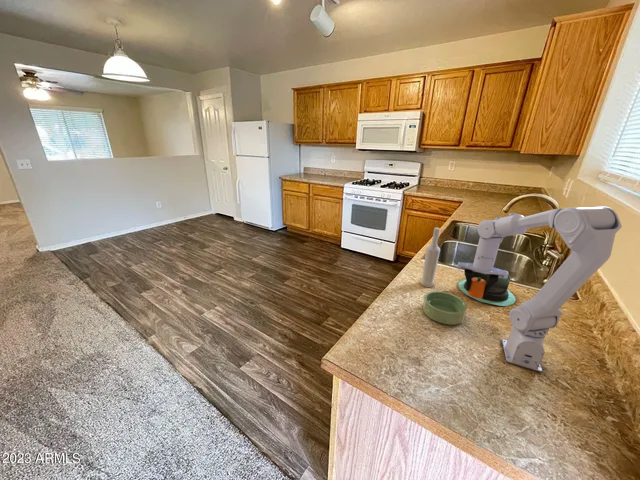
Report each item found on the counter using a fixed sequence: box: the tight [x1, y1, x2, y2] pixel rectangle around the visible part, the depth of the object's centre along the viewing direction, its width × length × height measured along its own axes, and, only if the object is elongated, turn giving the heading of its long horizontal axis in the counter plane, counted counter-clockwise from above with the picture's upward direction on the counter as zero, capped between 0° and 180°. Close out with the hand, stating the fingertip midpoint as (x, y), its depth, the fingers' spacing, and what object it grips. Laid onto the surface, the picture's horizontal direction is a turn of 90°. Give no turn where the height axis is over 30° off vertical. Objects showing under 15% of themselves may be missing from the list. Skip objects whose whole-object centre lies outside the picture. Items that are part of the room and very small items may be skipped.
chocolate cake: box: [457, 271, 516, 307], centre depth 106 cm, size 15×19×20 cm
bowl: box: [422, 290, 468, 326], centre depth 92 cm, size 13×13×5 cm
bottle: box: [420, 227, 441, 288], centre depth 107 cm, size 5×5×25 cm
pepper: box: [468, 277, 487, 299], centre depth 91 cm, size 5×5×7 cm
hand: (476, 291), depth 92 cm, fingers closed on pepper, 4 cm apart
